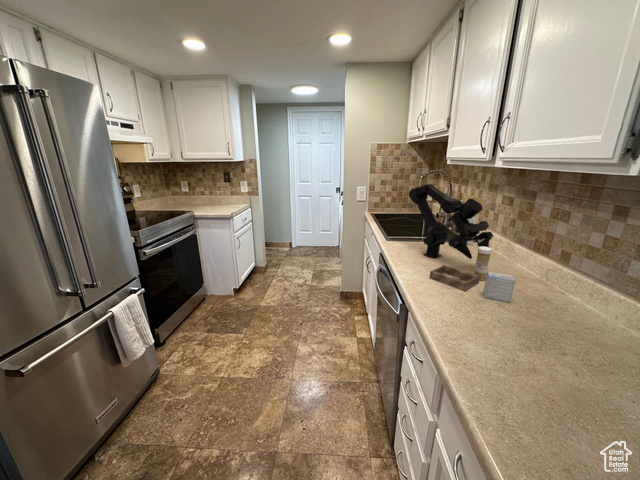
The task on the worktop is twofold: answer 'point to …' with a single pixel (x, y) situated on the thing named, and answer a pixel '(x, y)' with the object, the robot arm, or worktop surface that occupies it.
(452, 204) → the robot arm
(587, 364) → the worktop surface
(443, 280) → the frame
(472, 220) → the skincare box
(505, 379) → the worktop surface
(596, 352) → the worktop surface
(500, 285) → the medicine box
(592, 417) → the worktop surface
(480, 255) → the sprinkles bottle
